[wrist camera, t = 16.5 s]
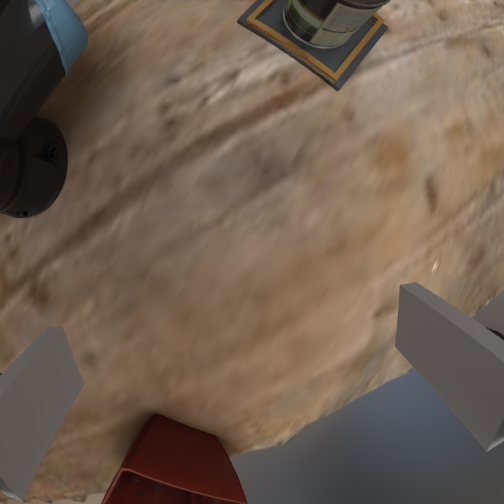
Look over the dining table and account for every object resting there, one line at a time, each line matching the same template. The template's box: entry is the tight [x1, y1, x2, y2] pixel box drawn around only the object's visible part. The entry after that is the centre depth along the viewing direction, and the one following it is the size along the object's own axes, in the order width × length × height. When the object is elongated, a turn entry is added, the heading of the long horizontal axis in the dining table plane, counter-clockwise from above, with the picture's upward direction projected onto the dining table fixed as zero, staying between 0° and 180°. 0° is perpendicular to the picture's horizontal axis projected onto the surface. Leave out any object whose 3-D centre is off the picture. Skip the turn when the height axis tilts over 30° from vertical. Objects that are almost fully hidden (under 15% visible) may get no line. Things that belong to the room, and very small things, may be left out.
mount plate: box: [237, 0, 388, 91], centre depth 35 cm, size 17×15×2 cm
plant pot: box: [101, 415, 247, 504], centre depth 42 cm, size 19×19×17 cm
